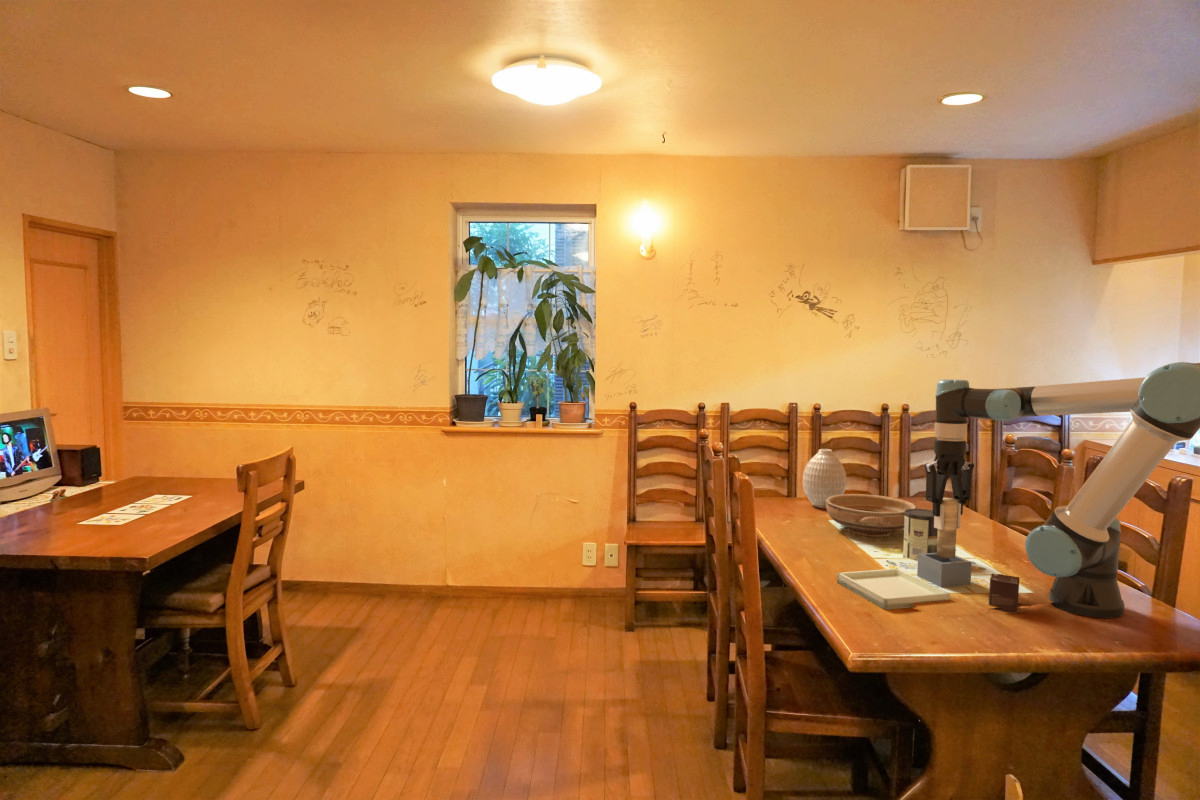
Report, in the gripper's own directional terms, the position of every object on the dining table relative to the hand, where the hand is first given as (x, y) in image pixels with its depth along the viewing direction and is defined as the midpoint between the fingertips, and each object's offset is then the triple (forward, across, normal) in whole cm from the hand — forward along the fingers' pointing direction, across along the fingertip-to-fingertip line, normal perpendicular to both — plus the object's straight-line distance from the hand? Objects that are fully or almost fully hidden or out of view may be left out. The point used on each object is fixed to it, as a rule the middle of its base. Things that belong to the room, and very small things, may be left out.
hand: (946, 527), depth 189 cm
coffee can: (+15, -9, -20) cm, 27 cm away
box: (+16, -2, +18) cm, 24 cm away
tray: (+15, +18, +3) cm, 24 cm away
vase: (+14, -19, -89) cm, 93 cm away
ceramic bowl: (+15, -13, -51) cm, 55 cm away
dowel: (+7, 0, 0) cm, 7 cm away
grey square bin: (+15, 0, 0) cm, 15 cm away
